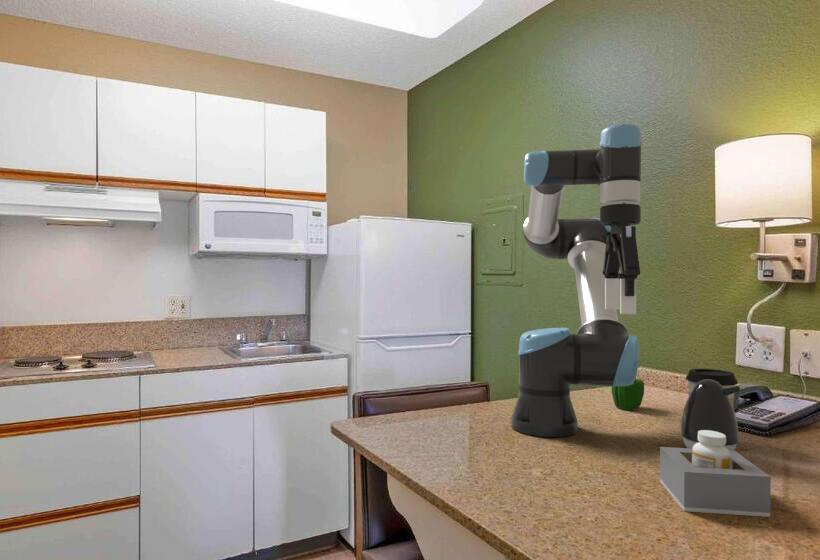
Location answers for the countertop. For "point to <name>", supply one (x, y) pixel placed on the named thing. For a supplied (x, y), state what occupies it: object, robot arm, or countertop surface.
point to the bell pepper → (628, 395)
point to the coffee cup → (712, 378)
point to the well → (715, 484)
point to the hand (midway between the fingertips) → (619, 311)
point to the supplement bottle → (711, 451)
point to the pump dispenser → (710, 413)
